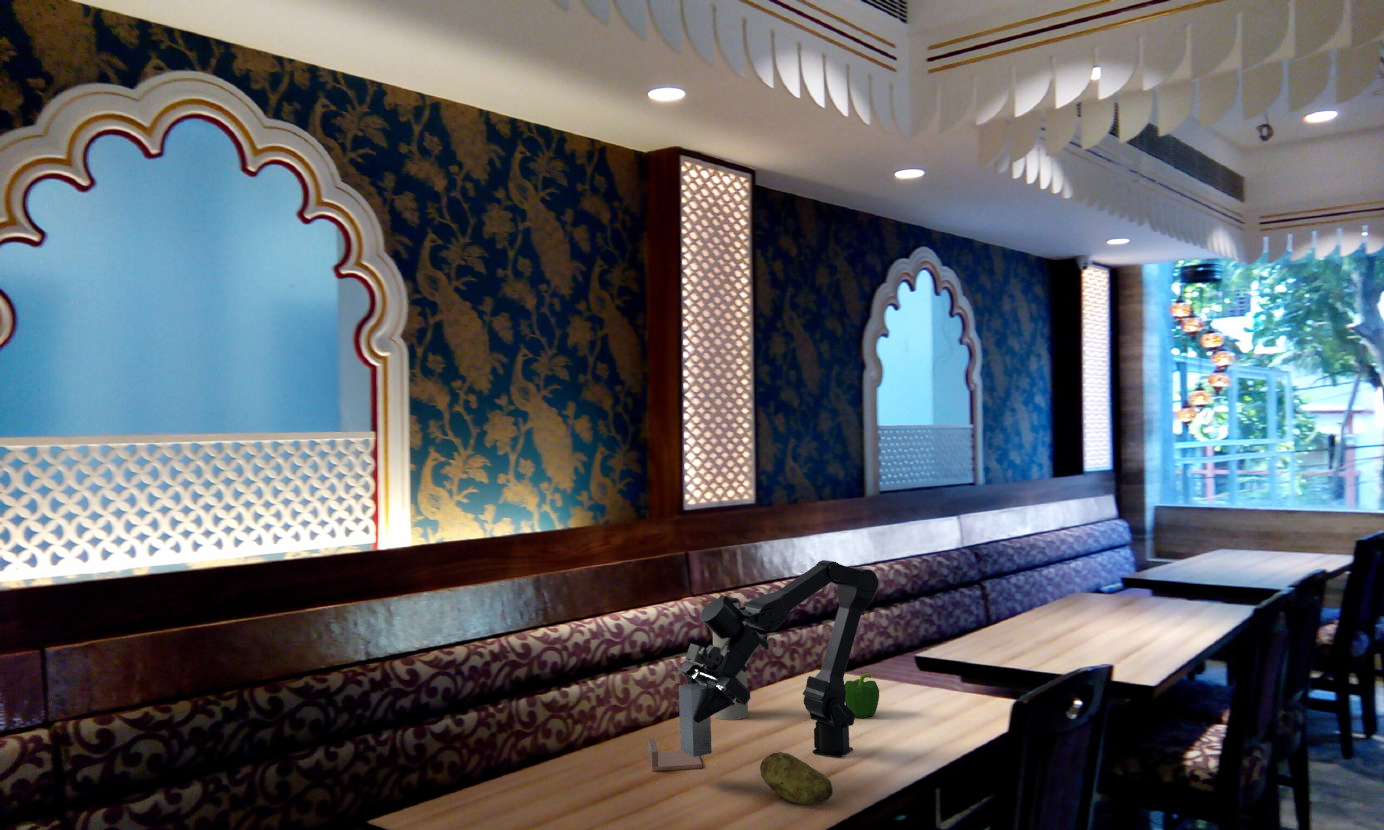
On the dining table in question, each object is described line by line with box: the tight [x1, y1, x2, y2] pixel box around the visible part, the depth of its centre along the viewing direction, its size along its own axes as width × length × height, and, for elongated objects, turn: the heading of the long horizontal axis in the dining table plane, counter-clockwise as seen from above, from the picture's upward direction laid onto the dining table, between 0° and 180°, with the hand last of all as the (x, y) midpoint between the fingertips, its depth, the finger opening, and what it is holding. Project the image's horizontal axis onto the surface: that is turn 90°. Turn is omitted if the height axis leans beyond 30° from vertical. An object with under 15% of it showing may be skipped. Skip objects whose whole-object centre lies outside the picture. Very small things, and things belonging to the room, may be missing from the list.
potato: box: [759, 751, 833, 805], centre depth 184 cm, size 8×13×8 cm, turn 47°
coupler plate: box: [647, 737, 703, 772], centre depth 208 cm, size 10×10×4 cm
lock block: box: [678, 683, 713, 757], centre depth 196 cm, size 4×5×12 cm
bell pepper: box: [844, 672, 880, 719], centre depth 240 cm, size 8×8×10 cm
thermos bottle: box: [712, 597, 749, 721], centre depth 243 cm, size 8×8×28 cm
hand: (688, 718), depth 196 cm, fingers closed on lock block, 5 cm apart
